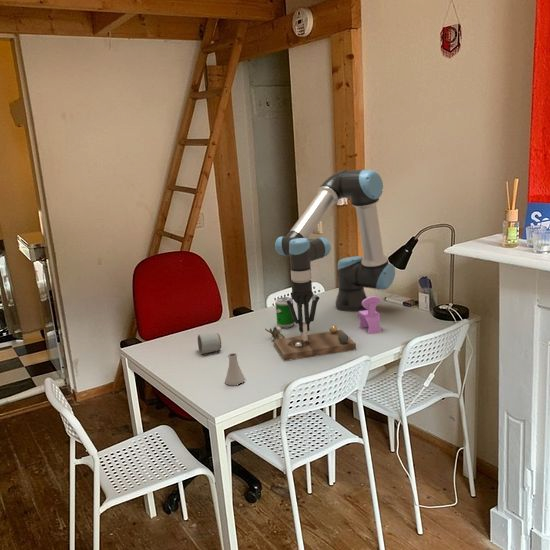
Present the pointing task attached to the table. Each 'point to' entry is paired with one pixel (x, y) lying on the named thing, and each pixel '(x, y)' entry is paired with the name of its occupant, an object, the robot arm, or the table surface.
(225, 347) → the table surface
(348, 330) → the table surface
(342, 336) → the black rubber ball
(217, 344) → the grey cylinder
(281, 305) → the soda can
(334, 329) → the brass ball
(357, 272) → the robot arm
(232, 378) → the flask
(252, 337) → the table surface
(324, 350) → the board
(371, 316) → the toy chair
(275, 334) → the eagle figurine
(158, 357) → the table surface
